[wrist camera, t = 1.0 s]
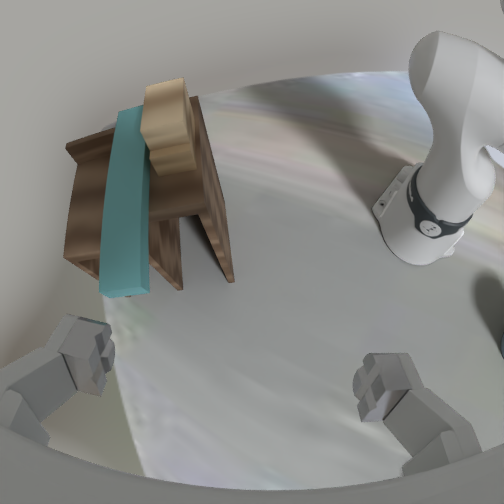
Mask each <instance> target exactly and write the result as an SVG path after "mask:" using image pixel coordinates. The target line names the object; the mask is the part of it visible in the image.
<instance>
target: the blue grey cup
mask: <svg viewBox="0 0 504 504" xmlns="http://www.w3.org/2000/svg"><path fill="white" fill-rule="evenodd" d="M501 352H502V356H503V358H504V334H503V336H502V340H501Z"/></svg>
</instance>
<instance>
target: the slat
mask: <svg viewBox="0 0 504 504" xmlns="http://www.w3.org/2000/svg"><path fill="white" fill-rule="evenodd" d="M142 112H143V105H141V106H138V107H134V108H131V109H127V110H124V111H120V112H119V113H118V118H117V123H116V128H115V133H114V138H113V144H112V150H111V156H110V162H109V168H108V175H107V183H106V191H105V199H104V209H103V219H102V232H101V247H100V268H99V292H100V293H101V294H103V295H105V296H107V297H109V298H115V297H122V296H130V295H138V294H145V293H150V288H149V250H148V221H149V183H150V162H151V161H150V150H149V148H148V146H147V144H146V142H145V140H144V138H143V136H142V134H141V132H140V127H141V119H142Z"/></svg>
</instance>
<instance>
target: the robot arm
mask: <svg viewBox="0 0 504 504" xmlns="http://www.w3.org/2000/svg"><path fill="white" fill-rule="evenodd" d="M500 3H501V8H502V11H503V13H504V0H500ZM409 79H410V84H411V87H412V90H413V92H414V94H415V96H416V98H417V100H418V101H419V102H420V103H421V105H422V106H423V108H424V109H425V111H426V112H427V114H428V116H429V119H430V121H431V124H432V128H433V144H432V147H431V149H430V151H429V154H428V156H427V158H426V160H425V162H424V163H416V165H415V166H414V167H413V166H404V167H403V168H402V169H401V171H400V172H399V173H398V175H397V176H396V177H395V179H394V180H393V181H392V183H391V184H390V185H389V186H388V188H387V189H386V190H385V192H384V193H383V194H382V195H381V197H380V198H379V199H378V201H377V202H376V203H375V204H374V206H373V208H372V211H373V213H374V215H375V216H376V218H377V219H378V221H379V223H380V226H381V231H382V235H383V237H384V240H385V242H386V244H387V245H388V247H389V248H390V249H391V251H392V252H393V253H394V254H395V255H396V256H398V257H399V258H400V259H402V260H404V261H405V262H408V263H410V264H414V265H427V264H430V263H432V262H434V261H435V260H437V259H438V258H441V257H449V256H451V255H452V254H453V253H454V245H455V243H456V242H457V241H458V240H459V239H460V238H461V237H462V235H463V234H464V231H463V228H464V227H465V226H466V225H467V223H468V222H469V220H470V219H471V218H472V216H473V213H474V212H475V211H476V210H477V209H478V208H479V207H480V206H481V205H482V204H483V203H484V202H485V201H486V200H487V199H488V198H489V197H490V196H491V194H492V192H493V189H494V186H495V180H496V176H495V169H494V166H493V163H492V161H491V158H490V156H489V154H488V152H487V151H486V149H485V148H484V146H486V145H489V146H491V147H494V148H496V149H497V150H499V151H501V152H502V153H504V59H503V58H501V57H500V56H498V55H497V54H495V53H493V52H492V51H490V50H488V49H487V48H485V47H483V46H481V45H479V44H478V43H476V42H474V41H471V40H468V39H465V38H462V37H459V36H456V35H453V34H449V33H445V32H441V31H435V32H432V33H431V34H428V35H427V36H425V37H424V38H422V39H421V40H420V41H419V42H418V43H417V45H416V46H415V48H414V49H413V51H412V54H411V57H410V60H409ZM380 204H381V205H383V206H381V205H380ZM111 334H112V330H111V326H110V325H109V324H107V323H103V322H99V321H95V320H91V319H87V318H83V317H79V316H75V315H71V314H66V315H64V316H63V318H62V320H61V321H60V323H59V324H58V326H57V327H56V329H55V331H54V332H53V334H52V335H51V337H50V339H49V340H48V342H47V344H46V345H45V347H44V348H42V347H40V348H38V349H36V350H34V351H32V352H30V353H29V354H27V355H25V356H23V357H21V358H20V359H18V360H16V361H14V362H12V363H11V364H9V365H7V366H6V367H4V368H2V369H0V504H504V443H503V444H501V445H499V446H497V447H494V448H492V449H489V450H487V451H484V452H482V450H481V447H480V444H479V442H478V439H477V437H476V435H475V432H474V430H473V427H472V425H471V423H469V422H468V421H467V420H466V419H465V418H463V417H462V416H461V415H460V414H459V413H457V412H456V411H455V410H454V409H452V408H451V407H450V406H449V405H448V404H446V403H445V402H444V401H443V400H442V399H440V398H439V397H438V396H437V395H436V394H434V393H433V392H432V391H431V390H430V389H428V388H424V386H423V383H422V381H421V379H420V377H419V374H418V372H417V370H416V368H415V365H414V363H413V361H412V359H411V357H410V355H409V354H408V353H369V354H367V355H366V356H365V358H364V359H363V364H364V366H362V367H361V368H359V369H358V370H357V371H356V373H355V375H354V379H353V392H354V396H355V397H356V398H358V399H359V400H360V402H359V404H358V406H357V407H358V411H359V415H360V419H361V422H372V421H383V423H384V424H385V426H386V427H387V428H388V429H389V430H390V431H391V433H392V434H393V435H394V436H395V437H396V438H397V440H398V441H399V442H400V443H401V444H402V445H403V446H404V448H405V449H406V450H407V451H408V452H409V453H410V455H411V456H412V457H413V458H411V459H410V460H409V461H408V462H406V463H405V464H404V465H403V467H402V470H403V474H404V476H402V477H398V478H393V479H388V480H383V481H377V482H371V483H365V484H358V485H351V486H343V487H333V488H322V489H307V490H240V489H225V488H214V487H205V486H196V485H189V484H182V483H176V482H170V481H164V480H159V479H153V478H149V477H144V476H139V475H135V474H131V473H127V472H123V471H119V470H115V469H112V468H108V467H104V466H101V465H97V464H95V463H91V462H88V461H85V460H82V459H79V458H76V457H73V456H70V455H68V454H65V453H62V452H60V451H57V450H55V449H52V448H50V447H47V445H48V442H49V439H50V436H49V434H48V432H47V431H46V430H45V428H44V427H43V426H42V425H41V422H42V421H43V420H44V419H46V418H47V417H48V416H49V415H50V414H52V413H53V412H54V411H55V410H56V409H58V408H59V407H60V406H61V405H63V404H64V403H65V402H66V401H67V400H69V399H70V398H71V397H72V396H73V395H74V394H76V393H77V391H80V392H84V393H88V394H92V395H96V396H100V397H101V395H102V392H103V390H104V387H105V385H106V382H107V379H106V376H105V374H106V373H107V372H109V371H110V370H111V369H112V366H113V363H114V358H115V346H114V342H113V341H112V340H111V339H110V336H111Z"/></svg>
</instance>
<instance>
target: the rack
mask: <svg viewBox="0 0 504 504" xmlns="http://www.w3.org/2000/svg"><path fill="white" fill-rule="evenodd" d="M115 128H116V127H115ZM115 128H112V129H109V130H105V131H102V132H99V133H96V134H93V135H90V136H87V137H84V138H81V139H78V140H75V141H72V142H69V143H67V144H66V150H67V151H68V153H69V154H70V155H71V157H72V158H73V159H74V160H75V162H76V163H77V164H78V166H77V170H76V175H75V180H74V185H73V191H72V196H71V202H70V208H69V214H68V221H67V230H66V237H65V246H64V255H63V256H64V258H65V259H66V260H68V261H69V262H71V263H72V264H74V265H75V266H77V267H79V268H80V269H81V270H83V271H85V272H86V273H88V274H89V275H91V276H92V277H94V278H95V279H97V280H99V268H100V247H101V232H102V219H103V209H104V199H105V191H106V183H107V175H108V168H109V162H110V156H111V150H112V144H113V138H114V133H115ZM140 132H141V134H142V136H143V138H144V140H145V142H146V144H147V146H148V148H149V150H150V161H151V162H150V183H149V221H148V250H149V263H150V264H151V265H152V266H153V267H154V268H155V269H156V270H157V271H158V272H159V273H160V274H161V275H162V276H163V277H164V278H165V279H166V280H167V281H168V282H169V283H170V284H171V285H172V286H173V287H175V288H176V289H177V290H183V281H182V267H181V250H180V231H179V217H184V216H190V215H196V214H198V215H199V217H200V219H201V222H202V224H203V226H204V229H205V231H206V233H207V235H208V238H209V240H210V242H211V244H212V247H213V249H214V251H215V253H216V256H217V258H218V260H219V262H220V265H221V267H222V269H223V271H224V274H225V276H226V278H227V280H228V282H229V283H233V282H235V281H234V273H233V265H232V258H231V250H230V242H229V234H228V226H227V218H226V209H225V201H224V197H223V194H222V190H221V186H220V182H219V178H218V174H217V170H216V166H215V163H214V159H213V155H212V151H211V147H210V143H209V139H208V135H207V131H206V127H205V123H204V119H203V115H202V111H201V107H200V103H199V99H198V96H194V97H189V96H188V92H187V89H186V85H185V81H184V78H178V79H174V80H169V81H165V82H161V83H157V84H153V85H149V86H146V92H145V99H144V105H143V112H142V119H141V127H140ZM125 297H131V295H130V296H125Z"/></svg>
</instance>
